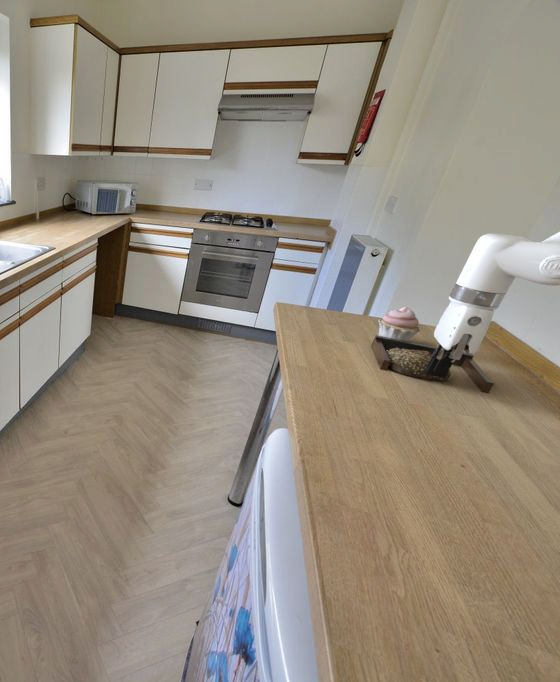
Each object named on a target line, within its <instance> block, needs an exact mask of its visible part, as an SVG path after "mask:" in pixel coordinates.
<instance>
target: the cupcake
mask: <svg viewBox="0 0 560 682" xmlns="http://www.w3.org/2000/svg"><path fill="white" fill-rule="evenodd" d="M377 320H378V324H379V325H378V326H379V328H378V335H377V336H383V337H388V338H393V339H398V340H403V341H408V342H410V341H411V340H412V338H413V337H415V335H417V334H418V333H420V332H421V329H420V327H419V319H418V318H417V317H416V313H415V312H414V311H413V310H412V309H411V308H409V307H407V306H404V307H401V308H399V309H393V310H390V311H388V312H387V313H386V314H385V315H384V316H382V318H381V319H380V318H378V319H377Z"/></svg>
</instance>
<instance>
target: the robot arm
mask: <svg viewBox="0 0 560 682" xmlns="http://www.w3.org/2000/svg"><path fill="white" fill-rule="evenodd" d="M516 278H518V279H521V280H525V281H528V282H532V283H536V284H539V285H545V286H551V287H553V286H560V231H558V232H557V233H555V234H553V235H551V236H549V237H548V238H546V239H544V240H543V241H541V242H540V241H532V240H531V239H529V238H527V237H524V236H519V235H514V234H513V235H512V234H505V233H485V234H483V235H481V236H480V237H479V238H478V239H477V241H476V242H475V244H474V246H473V248H472V250H471V252H470V254H469V255H468V258H467V260H466V262H465V264H464V266H463V268H462V270H461V272H460V273H459V276H458V277H457V280H456V282H455V283H454V285H453V288H452V291H451V292H450V294H449V296H448V300H449V301H450V302H449V304H448V305H447V306H446V308H445V310H444V311H443V314H442V315H441V317H440V318H439V321H438V323H437V324H436V326H435V329H434V332H433V337H434V339H435V340H436V343H437V344H436V346H435V347H436V348H435V350H434V353H433V355H435V356H432V358H431V360H430V361H429V363H428V365H427V367H426V369H425V371H426V372H427V374H429V375H434V376H438V377H445V376H446V375H447V373H448V371H449V370H450V369H451V368H452V366H453V365H452V364H453V363H454V361H455V360H460V358H461V356H462V353H463V352H464V353H467V354H469V355H473V356H474V355H476V353H477V352H478V350H479V348H480V346H481V344H482V342H483V341H484V338H485V336H486V334H487V331H488V329H489V327H490V325H491V322H492V319H493V316H494V313H495V310H498V309H499V307H500V306H501V304H502V302H503V300H504V298H505V297H506V295H507V293H508V291H509V289H510V287H511V286H512V284H513V282H514V280H515V279H516Z"/></svg>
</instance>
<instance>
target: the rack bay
mask: <svg viewBox="0 0 560 682" xmlns="http://www.w3.org/2000/svg"><path fill="white" fill-rule="evenodd" d="M371 345H372V347H371V349H372V348H373V349H372V352H373V351H374V352H373V354H374V353H375V354H374V357H375V356H376V357H375V359H376V362H377V361H378V362H377V364H379V365H378V367H379V369H380V370H382V369H383V370H382V371H387V369H388V368H389V363H390V359H389V357H388V355H387V353H386V351H385V350H390V349H394V348H399V349H408V350H421V351H428V352H429V353H430V354H431V355H433V353H434V350H435V348H436V346H434V345H428V344H423V343H417V342H412V341H409V342H408V341H403V340H398V339H393V338H388V337H383V336H378V335H377V334H376V335H375V336H374V338H373V341H372V343H371ZM453 365H454V366H457V365H458V367H461V366H462V367H461V368H462V370H463V371H465V373H466V374H467V376H468V377H469V378H470V380H471V381H473V383H474V384H475V385H476V387H477V388H478V389H479V390H480V392H482V393H485V394H489V393H490V392H491V390H492V388H493V387H494V385H495V382H494V381H493V380H492V379H491V378H490V376H488V375H487V373H486V372H485V371H484V370H483V369H482V368H481V366H480V365H478V363H477V362H476V361H475V360H474V355H469V354H467V353H466V352H465V351H463V353H462V356H461V358H460V360H455V361H454V363H453ZM453 365H452V366H453Z"/></svg>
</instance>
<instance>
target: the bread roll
mask: <svg viewBox="0 0 560 682" xmlns="http://www.w3.org/2000/svg"><path fill="white" fill-rule="evenodd" d="M386 353H387V355H388V357H389V359H390V363H389V365H388V367H390V369H391V370H393V371H395V372H397V373H399V374H402V375H404V376H408V377H409V376H410V377H413V378H416V379H419V380H424V381H437V382H446V381H449V380H451V379H452V373H451V370H450V369H449V371H448V373H447V375H446V376H445V377H438V376H434V375H429V374H427V372H426V371H425V369H426V367H427V365H428V363H429V361H430V360H431V358H432V356H435V355H431V354H430V353H429V352H428V351H421V350H408V349H399V348H394V349H390V350H388V351H386Z"/></svg>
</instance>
